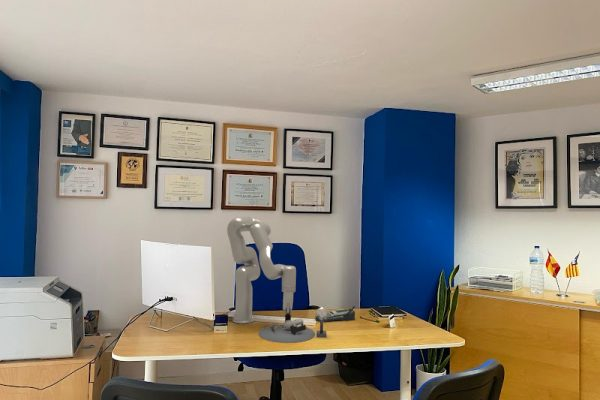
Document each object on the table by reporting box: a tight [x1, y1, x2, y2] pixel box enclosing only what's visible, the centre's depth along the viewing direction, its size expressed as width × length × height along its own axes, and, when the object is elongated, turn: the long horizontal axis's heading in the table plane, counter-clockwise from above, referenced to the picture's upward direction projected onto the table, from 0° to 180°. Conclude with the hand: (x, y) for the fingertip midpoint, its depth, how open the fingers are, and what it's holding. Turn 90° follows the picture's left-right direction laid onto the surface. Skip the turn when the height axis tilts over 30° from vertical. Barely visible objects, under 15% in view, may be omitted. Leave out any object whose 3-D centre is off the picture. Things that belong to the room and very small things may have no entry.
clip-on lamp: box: [270, 318, 307, 335], centre depth 215 cm, size 12×6×18 cm
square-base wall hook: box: [315, 307, 329, 339], centre depth 209 cm, size 6×5×15 cm
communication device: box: [314, 305, 356, 323], centre depth 242 cm, size 12×24×9 cm, turn 109°
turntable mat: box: [257, 324, 316, 344], centre depth 212 cm, size 30×30×1 cm
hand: (287, 322), depth 222 cm, fingers closed
